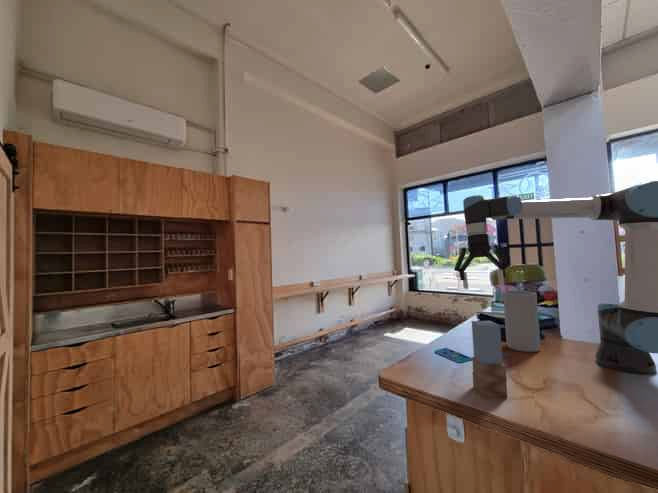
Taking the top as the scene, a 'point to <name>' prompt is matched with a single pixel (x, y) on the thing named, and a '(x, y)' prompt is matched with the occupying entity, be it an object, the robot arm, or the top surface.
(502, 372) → the tower top
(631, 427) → the top surface
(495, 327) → the blue block
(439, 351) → the handheld gaming device
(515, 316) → the grey cylinder
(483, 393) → the tower base
